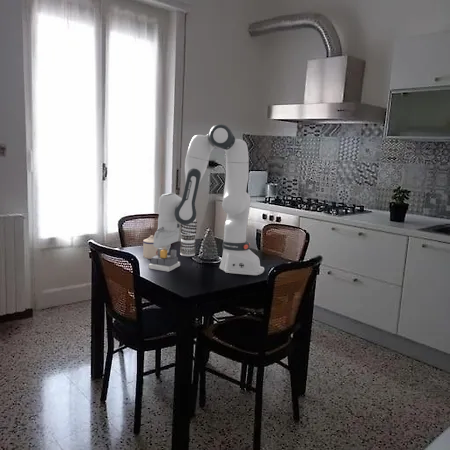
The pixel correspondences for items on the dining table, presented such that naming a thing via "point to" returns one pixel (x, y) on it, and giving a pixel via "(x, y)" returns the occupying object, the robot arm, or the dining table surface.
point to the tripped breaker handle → (163, 253)
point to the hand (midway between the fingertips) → (166, 253)
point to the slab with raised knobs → (164, 261)
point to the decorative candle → (188, 239)
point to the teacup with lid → (149, 248)
